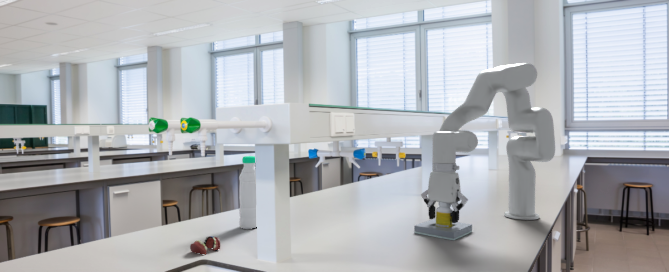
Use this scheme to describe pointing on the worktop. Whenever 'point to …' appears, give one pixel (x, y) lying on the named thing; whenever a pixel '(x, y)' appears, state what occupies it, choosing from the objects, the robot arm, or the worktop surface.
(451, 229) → the holder block
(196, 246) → the dental model
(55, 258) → the worktop surface
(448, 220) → the supplement bottle
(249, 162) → the water bottle
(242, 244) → the worktop surface
